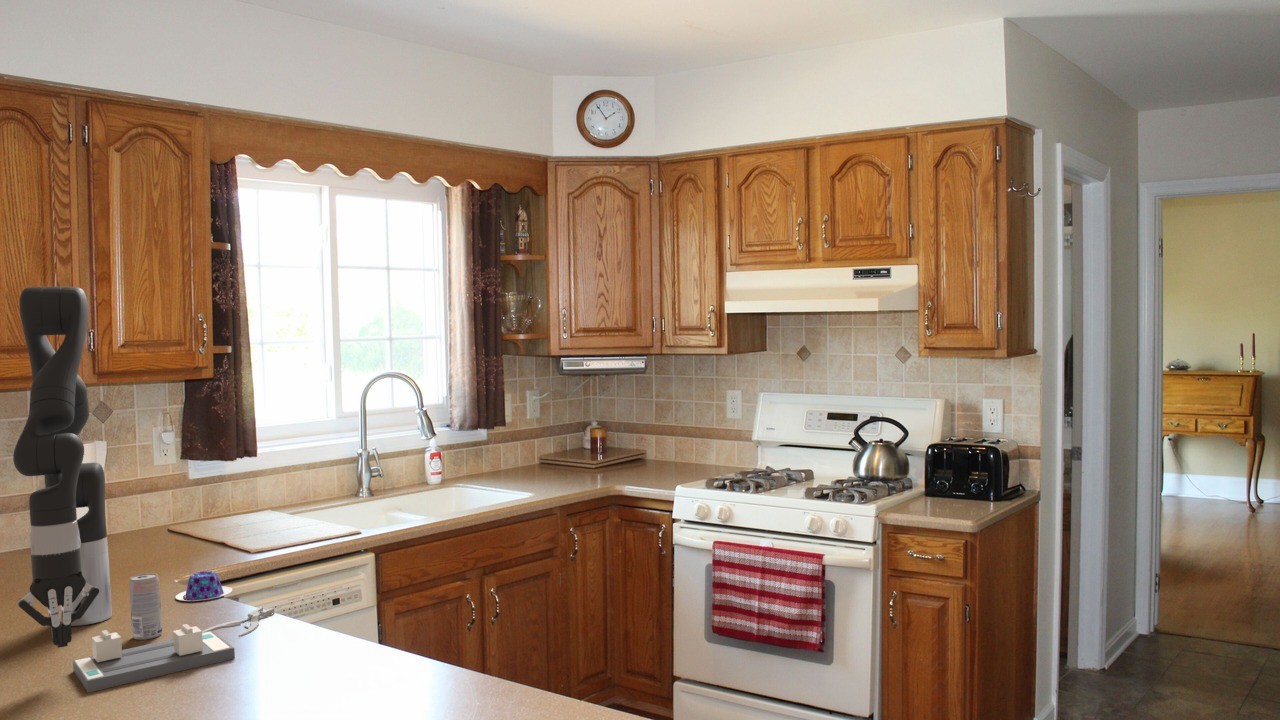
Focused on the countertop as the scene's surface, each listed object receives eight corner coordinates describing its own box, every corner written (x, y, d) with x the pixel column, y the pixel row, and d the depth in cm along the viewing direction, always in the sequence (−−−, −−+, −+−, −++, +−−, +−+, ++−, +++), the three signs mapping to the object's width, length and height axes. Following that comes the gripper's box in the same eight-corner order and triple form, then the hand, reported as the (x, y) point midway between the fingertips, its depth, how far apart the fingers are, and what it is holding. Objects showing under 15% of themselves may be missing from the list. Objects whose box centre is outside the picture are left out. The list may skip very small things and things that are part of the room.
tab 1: (93, 656, 182) (91, 632, 182) (117, 651, 184) (116, 627, 184) (97, 662, 179) (95, 637, 178) (122, 657, 181) (120, 632, 181)
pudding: (177, 607, 222) (176, 583, 222) (173, 595, 232) (172, 572, 232) (236, 598, 228) (234, 575, 227) (229, 586, 238) (227, 564, 238)
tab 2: (174, 650, 184) (172, 626, 183) (197, 645, 186) (195, 621, 186) (179, 655, 180) (178, 631, 180) (203, 650, 183) (201, 626, 183)
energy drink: (156, 630, 204) (153, 571, 204) (166, 635, 201) (162, 575, 200) (128, 636, 201) (124, 577, 200) (137, 642, 197) (134, 581, 196)
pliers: (199, 628, 201) (247, 606, 215) (199, 636, 201) (248, 613, 215) (241, 630, 198) (287, 608, 212) (241, 638, 198) (288, 615, 212)
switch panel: (73, 671, 181) (72, 659, 181) (213, 640, 196) (212, 629, 196) (88, 692, 170) (87, 680, 170) (234, 658, 185) (234, 646, 185)
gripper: (94, 538, 183) (100, 633, 184) (8, 551, 175) (15, 650, 176) (102, 544, 177) (108, 642, 178) (14, 558, 169) (21, 660, 170)
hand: (62, 646), depth 177 cm, fingers closed
